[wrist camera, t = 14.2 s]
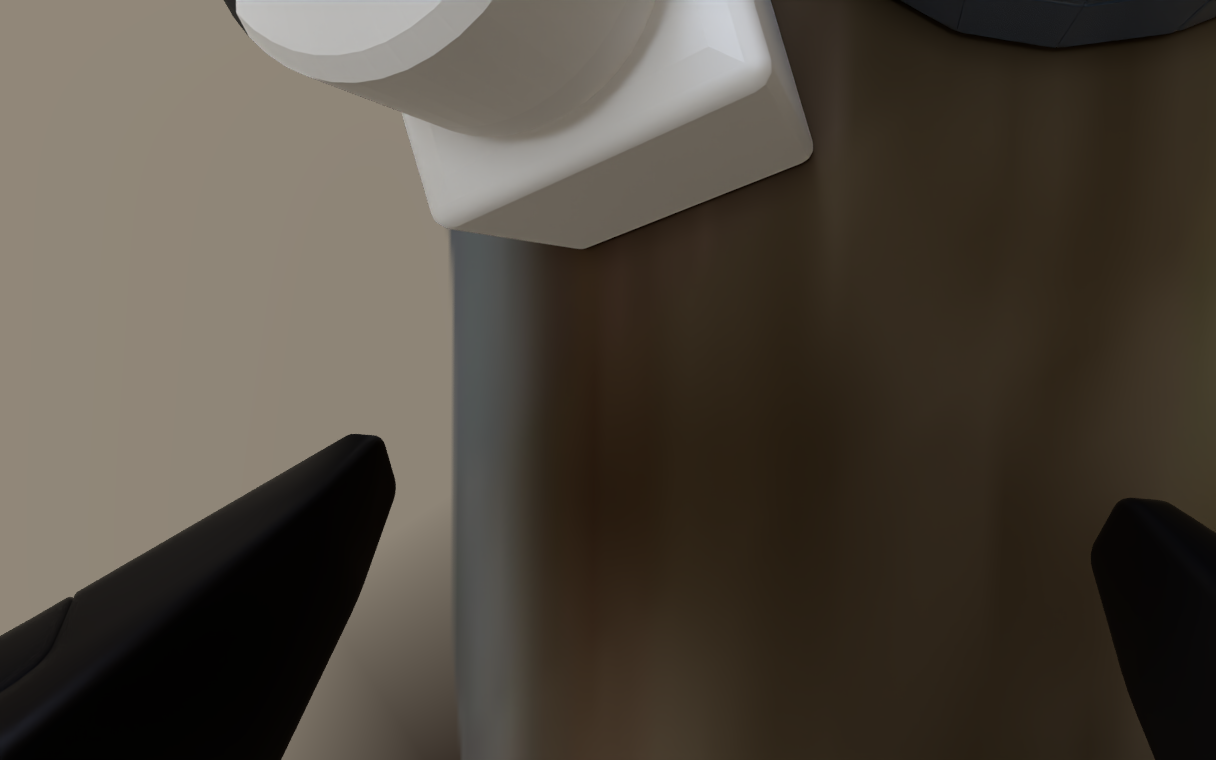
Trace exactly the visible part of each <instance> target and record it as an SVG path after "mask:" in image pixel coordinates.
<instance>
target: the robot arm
mask: <svg viewBox="0 0 1216 760" xmlns="http://www.w3.org/2000/svg"><path fill="white" fill-rule="evenodd" d="M395 490H396V484H395V478H394V474H393V471H392V468H391V464H390V461H389V457H388V454H387V450H386V447H385V444H384V442H383V441H382V439H381V438H379V437H377V436H374V435H373V436H372V435H361V434H350V435H348V436H346V437H344V438H342V439H340V440H338V441H337V442H335V443H333V444H332V445H330V446H328V447H326V448H325V449H323V450H321V451H320V452H318V453H316V454H314V455H313V456H311V457H309V458H307V459H306V460H304V461H302V462H301V463H299V464H297V465H295V466H294V467H292V468H290V469H289V470H287V471H285V472H283V473H282V474H280V475H278V476H276V477H275V478H273V479H272V480H270V481H268V482H266V483H264V484H263V485H261V486H259V487H257V488H256V489H254V490H252V491H251V492H249V493H247V494H245V495H244V496H242V497H240V498H239V499H237V500H235V501H234V502H232V503H230V504H228V505H226V506H225V507H223V508H221V509H220V510H218V511H216V512H214V513H213V514H211V515H209V516H207V517H206V518H204V519H202V520H201V521H199V522H197V523H195V524H194V525H192V526H190V527H188V528H187V529H185V530H183V531H182V532H180V533H178V534H176V535H175V536H173V537H171V538H169V539H168V540H166V541H165V542H163V543H161V544H159V545H158V546H156V547H154V548H152V549H151V550H149V551H147V552H146V553H144V554H142V555H140V556H139V557H137V558H135V559H133V560H132V561H130V562H128V563H126V564H125V565H123V566H121V567H119V568H118V569H116V570H114V571H113V572H111V573H109V574H108V575H106V576H104V577H102V578H101V579H99V580H97V581H95V582H94V583H92V584H90V585H88V586H87V587H85V588H84V589H82V590H80V591H78V592H77V593H76V594H75V596H74V598H73V597H68V598H66V599H64V600H62V601H61V602H59V603H57V604H55V605H54V606H52V607H50V608H49V609H47V610H45V611H43V612H42V613H40V614H38V615H37V616H35V617H33V618H32V619H30V620H28V621H26V622H25V623H22V624H21V625H19V626H17V627H15V628H14V629H12V630H10V631H8V632H6V633H5V634H3V635H1V636H0V760H281V758H282V757H283V755H284V753H285V750H286V748H287V746H288V744H289V742H290V740H291V738H292V736H293V734H294V732H295V730H296V728H297V725H298V723H299V721H300V719H301V717H302V715H303V713H304V711H305V709H306V706H307V705H308V703H309V700H310V698H311V696H312V694H313V692H314V690H315V688H316V686H317V684H318V682H319V680H320V678H321V676H322V673H323V671H324V669H325V667H326V665H327V663H328V661H329V658H330V657H331V655H332V653H333V651H334V648H335V646H336V644H337V642H338V640H339V638H340V636H341V634H342V632H343V630H344V628H345V625H346V624H347V621H348V619H349V617H350V615H351V613H352V611H353V608H354V606H355V604H356V602H357V600H358V597H359V595H360V592H361V590H362V587H363V584H364V581H365V579H366V576H367V573H368V571H369V568H370V565H371V562H372V559H373V557H374V554H375V551H376V548H377V545H378V542H379V540H380V537H381V534H382V531H383V528H384V525H385V523H386V520H387V517H388V514H389V511H390V508H391V505H392V503H393V500H394V496H395ZM1091 565H1092V569H1093V573H1094V576H1095V580H1096V583H1097V587H1098V590H1099V594H1100V597H1101V601H1102V604H1103V608H1104V611H1105V615H1106V619H1107V622H1108V626H1109V629H1110V633H1111V636H1112V640H1113V643H1114V647H1115V650H1116V654H1117V657H1118V661H1119V664H1120V668H1121V671H1122V674H1123V677H1124V681H1125V684H1126V687H1127V690H1128V693H1129V695H1130V698H1131V701H1132V703H1133V706H1134V709H1135V711H1136V714H1137V716H1138V719H1139V721H1140V724H1141V726H1142V728H1143V731H1144V733H1145V736H1146V738H1147V741H1148V743H1149V746H1150V748H1151V750H1152V753H1153V755H1154V758H1155V760H1216V533H1215V532H1213V531H1212V530H1210V529H1209V528H1207V527H1206V526H1204V525H1203V524H1201V523H1199V522H1198V521H1196V520H1195V519H1193V518H1192V517H1190V516H1189V515H1187V514H1186V513H1184V512H1182V511H1181V510H1179V509H1178V508H1176V507H1175V506H1173V505H1171V504H1170V503H1168V502H1165V501H1161V500H1152V499H1139V498H1125V499H1122V500H1121V501H1119V502H1118V503H1117V504H1116V505H1115V507H1114V508H1113V510H1112V512H1111V514H1110V515H1109V517H1108V519H1107V521H1106V523H1105V524H1104V526H1103V528H1102V530H1101V532H1100V533H1099V535H1098V537H1097V539H1096V540H1095V542H1094V544H1093V547H1092V551H1091Z"/></svg>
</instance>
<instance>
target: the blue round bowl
mask: <svg viewBox="0 0 1216 760" xmlns="http://www.w3.org/2000/svg"><path fill="white" fill-rule="evenodd" d="M901 1H903V2H904V3H906V4H908V5H910V6H912V7H913V8H915V9H917V10H919V11H920V12H922V13H924V14H926V15H928V16H929V17H931V18H933V19H935V20H937V21H938V22H940V23H942V24H944V25H945V26H947V27H949V28H951V29H953V30H957V31H958V32H961V33H967V34H973V35H979V36H985V37H991V38H997V39H1003V40H1009V41H1015V42H1021V43H1028V44H1034V45H1040V46H1046V47H1052V48H1055V47H1056V46H1057V47H1060V48H1061V47H1068V46H1076V45H1084V44H1092V43H1100V42H1107V41H1115V40H1123V39H1131V38H1139V37H1146V36H1154V35H1162V34H1170V33H1173V32H1175V31H1176V30H1183V29H1186V28H1188V27H1191V26H1193V25H1196V24H1198V23H1201V22H1203V21H1206V20H1208V19H1211V18H1214V17H1216V0H901Z"/></svg>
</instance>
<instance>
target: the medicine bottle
mask: <svg viewBox="0 0 1216 760" xmlns="http://www.w3.org/2000/svg"><path fill="white" fill-rule="evenodd" d="M224 1H225V3H226V5H227V6H228V8H229V10H230V11H231V13H232V15H233V16H234V18H235V19H236V21H237V22H238V23H239V25H240V26H241V27H242V28H243V30H244V31H245V32H246V34H247V35H248V36H249V37H250V38H251V39H252V40H253V41H254V42H255V43H256V44H257V45H258V46H259V47H260V48H261V49H262V50H263V51H264V52H265V53H266V54H268V55H269V56H271V57H272V58H274V59H275V60H277V61H278V62H279V63H281V64H282V65H284V66H285V67H287V68H289V69H292V70H294V71H296V72H298V73H301V74H303V75H305V76H307V77H310V78H313V79H315V80H318V81H321V82H323V83H326V84H328V85H331V86H334V87H336V88H339V89H342V90H344V91H347V92H350V93H352V94H355V95H358V96H360V97H363V98H365V99H368V100H371V101H374V102H376V103H379V104H382V105H384V106H387V107H389V108H392V109H395V110H397V111H400V112H401V113H402V117H403V120H404V124H405V127H406V130H407V134H408V137H409V141H410V144H411V147H412V151H413V154H414V157H415V161H416V164H417V168H418V171H419V174H420V178H421V181H422V185H423V188H424V191H425V194H426V198H427V201H428V205H429V208H430V211H431V214H432V217H433V218H434V220H435V222H436V223H438V224H440V225H441V226H443V227H445V228H447V229H452V230H459V231H465V232H472V233H478V234H485V235H491V236H498V237H504V238H511V239H517V240H524V241H530V242H537V243H543V244H550V245H556V246H563V247H569V248H576V249H585V248H588V247H591V246H593V245H596V244H598V243H601V242H603V241H606V240H608V239H611V238H613V237H616V236H618V235H621V234H624V233H626V232H629V231H631V230H634V229H636V228H639V227H641V226H644V225H646V224H649V223H651V222H654V221H656V220H659V219H662V218H664V217H667V216H669V215H672V214H674V213H677V212H679V211H682V210H684V209H687V208H689V207H692V206H695V205H697V204H700V203H702V202H705V201H707V200H710V199H712V198H715V197H717V196H720V195H722V194H725V193H727V192H730V191H733V190H735V189H738V188H740V187H743V186H745V185H748V184H750V183H753V182H755V181H758V180H760V179H763V178H766V177H768V176H771V175H773V174H776V173H778V172H781V171H783V170H786V169H788V168H791V167H793V166H796V165H799V164H801V163H803V162H804V161H806V160H807V159H809V158H810V156H811V154H812V152H813V141H812V138H811V135H810V131H809V128H808V125H807V121H806V118H805V114H804V111H803V108H802V104H801V101H800V98H799V94H798V91H797V87H796V84H795V81H794V77H793V74H792V71H791V67H790V64H789V61H788V57H787V54H786V50H785V47H784V44H783V40H782V37H781V34H780V30H779V27H778V23H777V20H776V17H775V13H774V10H773V7H772V3H771V0H224Z"/></svg>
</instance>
